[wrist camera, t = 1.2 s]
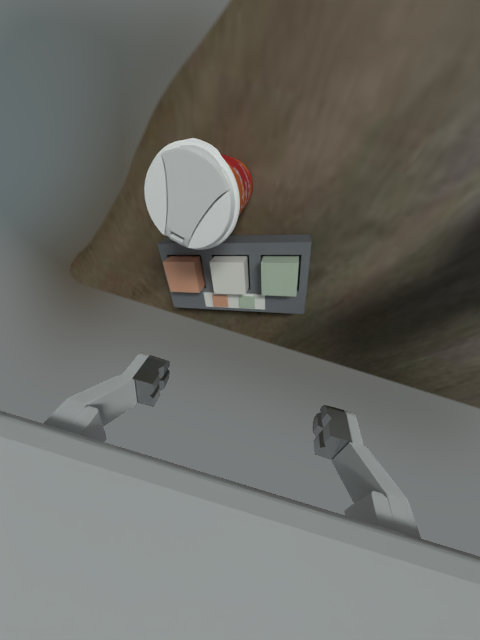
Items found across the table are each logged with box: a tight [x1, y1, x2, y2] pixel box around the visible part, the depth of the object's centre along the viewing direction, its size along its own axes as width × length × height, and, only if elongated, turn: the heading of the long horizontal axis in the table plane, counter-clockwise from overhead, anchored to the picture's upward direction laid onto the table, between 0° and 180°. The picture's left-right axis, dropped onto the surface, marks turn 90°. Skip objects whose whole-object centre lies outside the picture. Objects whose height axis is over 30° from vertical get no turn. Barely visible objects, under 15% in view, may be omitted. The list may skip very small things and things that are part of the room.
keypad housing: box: [157, 234, 312, 314], centre depth 33 cm, size 20×10×4 cm, turn 94°
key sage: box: [261, 256, 299, 297], centre depth 29 cm, size 4×4×2 cm
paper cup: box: [145, 138, 253, 250], centre depth 23 cm, size 8×8×14 cm
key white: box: [209, 256, 249, 295], centre depth 31 cm, size 4×4×2 cm
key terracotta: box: [163, 256, 205, 293], centre depth 32 cm, size 4×4×2 cm
